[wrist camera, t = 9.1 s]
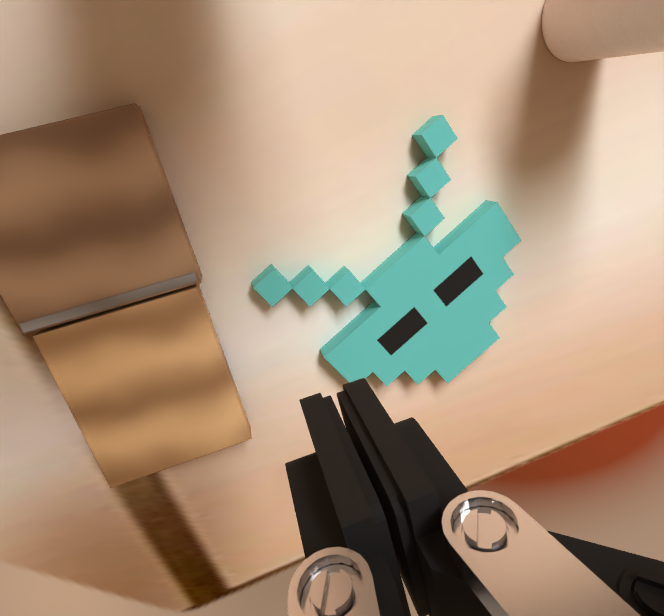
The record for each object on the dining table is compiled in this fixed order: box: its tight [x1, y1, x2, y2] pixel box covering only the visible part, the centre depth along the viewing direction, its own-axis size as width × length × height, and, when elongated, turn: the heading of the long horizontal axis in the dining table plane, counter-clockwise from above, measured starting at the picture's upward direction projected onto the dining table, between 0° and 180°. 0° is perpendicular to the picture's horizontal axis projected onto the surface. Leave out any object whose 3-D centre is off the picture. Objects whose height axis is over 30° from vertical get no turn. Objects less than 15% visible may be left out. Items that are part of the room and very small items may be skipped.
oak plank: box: [33, 283, 252, 488], centre depth 36 cm, size 14×12×2 cm
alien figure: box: [252, 115, 521, 386], centre depth 40 cm, size 20×2×20 cm
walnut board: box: [0, 104, 202, 335], centre depth 31 cm, size 13×13×2 cm
